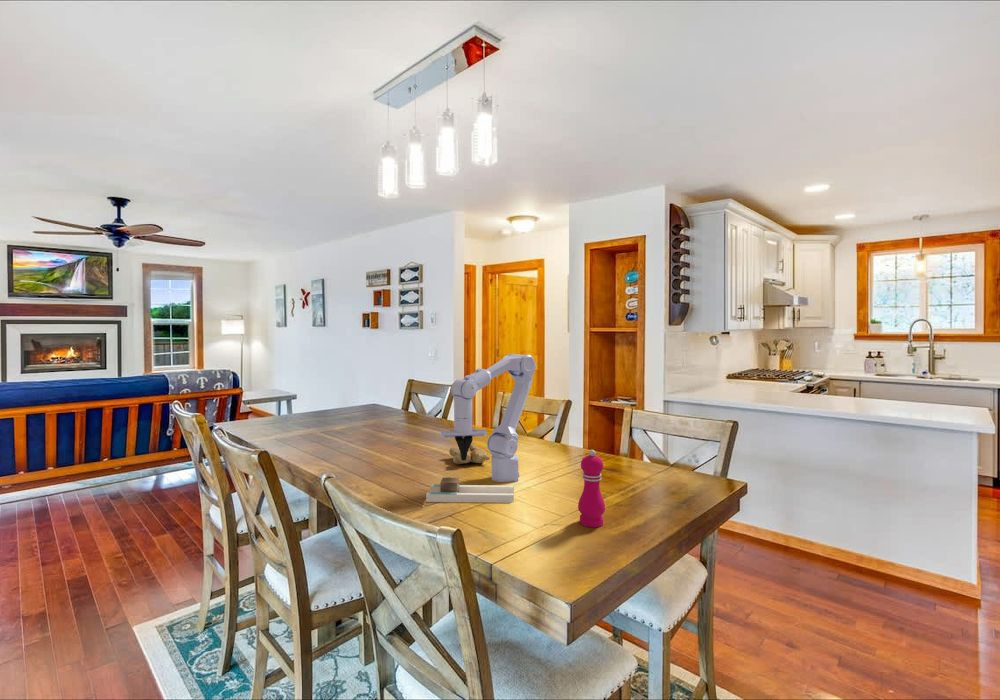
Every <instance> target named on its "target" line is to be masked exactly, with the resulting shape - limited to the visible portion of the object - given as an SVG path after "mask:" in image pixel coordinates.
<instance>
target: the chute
mask: <svg viewBox="0 0 1000 700" xmlns="http://www.w3.org/2000/svg"><path fill="white" fill-rule="evenodd" d="M429 489H430V490H429V491H430V492H428V491H427V492H426V494H425V495H426V496H425V497H426V499H425V500H426V503H488V504H489V503H491V504H492V503H494V504H495V503H497V504H498V503H501V504H502V503H505V504H506V503H507V504H514V502H515V498H514V497H515V495H514V494H515V485H494V484H491V485H489V484H488V485H487V484H485V485H484V484H481V485H479V484H478V485H477V484H474V485H473V484H460V483H459V493H457V492H440V483H439V484H438V483H437V484H436V483H434V484H430V487H429Z"/></svg>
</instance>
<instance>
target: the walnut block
mask: <svg viewBox="0 0 1000 700" xmlns="http://www.w3.org/2000/svg"><path fill="white" fill-rule="evenodd" d="M459 481H460V478H459V477H442V479H441V480H440V483H439V484H440V492H457V493H459V484H460V483H459Z"/></svg>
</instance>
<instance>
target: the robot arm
mask: <svg viewBox="0 0 1000 700" xmlns="http://www.w3.org/2000/svg"><path fill="white" fill-rule="evenodd" d="M536 368H537V363H536V361H535V358H534V357H533V356H532V355H530V354H515V353H508V354H507V355H504V356H503V357H502V359H499V361H497V362H496V363H494V364H492V365H491V366H489V367H488V368H486V369H484V368H479V367H478V368H476V369H475V370H474V372H472V373H470V374H468V375H465V376H464V377H463V378H462V379H461V378H459V379H458V378H457V379H456V380H454V381H453V383H452V384H451V387H450V389H449V391H450V394H451V395H452V397H453V401H454V402H453V408H454V414H453V415H454V417H453V418H454V420H453V421H454V429H451V430H450V429H449V430H442V431H441V430H440V431H439V433H440V439H441V440H442V439H448V438H449V439H450V438H454V440H455V442H456V444H457V448H458V449H459V450H460V454H461V460H466V457H467V453H468V450H470V448H469V447H470V445H471V443H473V438H474V437H483V438H485V437H487V435H488V434H487V430H486V429H476V428H475V429H474V428H473V398H475V395H476V394H477V392H478V391H480V390H481V389H483V388H485V387H487V386H488V385H490V384H491V383H492V382H491V381H492V379H494V378H496V377H497V376H500V375H502V374H503V373H504V374H505V372H508V374H509V375H510V377H511V378H512V379H513V380H514V383H515V384H514V387H513V388H512V393H511V395H510V397H509V400H508V402H507V405H506V408H505V410H504V413H503V417H502V419H501V422H500V425H498V426H497V427H495V428H494V429H493V430H492V433H491V434H490V435H489V436H488V438H487V440H486V448H487V449H488V450H489V453H490V455H491V476H490V477H491V480H492V481H494V482H499V483H500V482H501V483H503V482H504V483H505V482H519V478H520V471H519V455H515V454H516V453H517V451H518V447H519V446H518V444H519V439H520V437H519V435H518V433H517V432H516V429H517V427H518V424H519V421H520V418H521V416H522V413H523V410H524V407H525V404H526V402H527V399H528V395H529V393H530V391H531V388H532V384H533V376H534V374H535V371H536Z"/></svg>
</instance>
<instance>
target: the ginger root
mask: <svg viewBox="0 0 1000 700" xmlns="http://www.w3.org/2000/svg"><path fill="white" fill-rule="evenodd" d="M449 454H450V456H452V457H453V458H452V462H453V463H454V464H456V465H459V464H461V465H463V464H468V463H469V464H470V462H471V463H476V464H483V463H484V462H485V461H488V460H489V461H490V456H487V455H488V454H487V452H486V450H485V449H483V448H480V447H478V446H477V445H475V444H474V443H473V442H472V443H471V445H470V447H469V450H468V453H467V457H466V460H461V454H460V450H459V447H449Z"/></svg>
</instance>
